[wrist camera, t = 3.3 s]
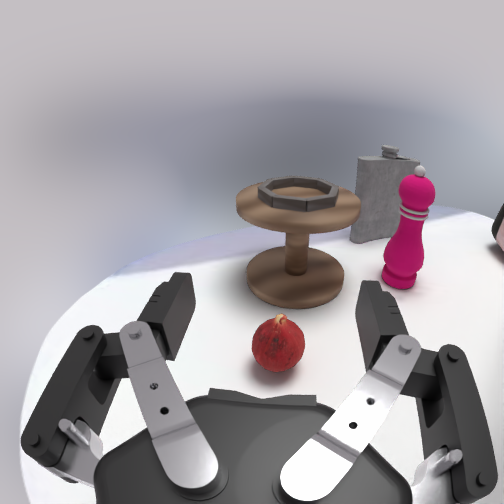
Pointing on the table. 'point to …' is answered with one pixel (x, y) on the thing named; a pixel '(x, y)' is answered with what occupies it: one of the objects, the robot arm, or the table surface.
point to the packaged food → (499, 228)
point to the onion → (278, 344)
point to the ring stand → (296, 238)
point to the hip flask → (380, 194)
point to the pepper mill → (408, 231)
